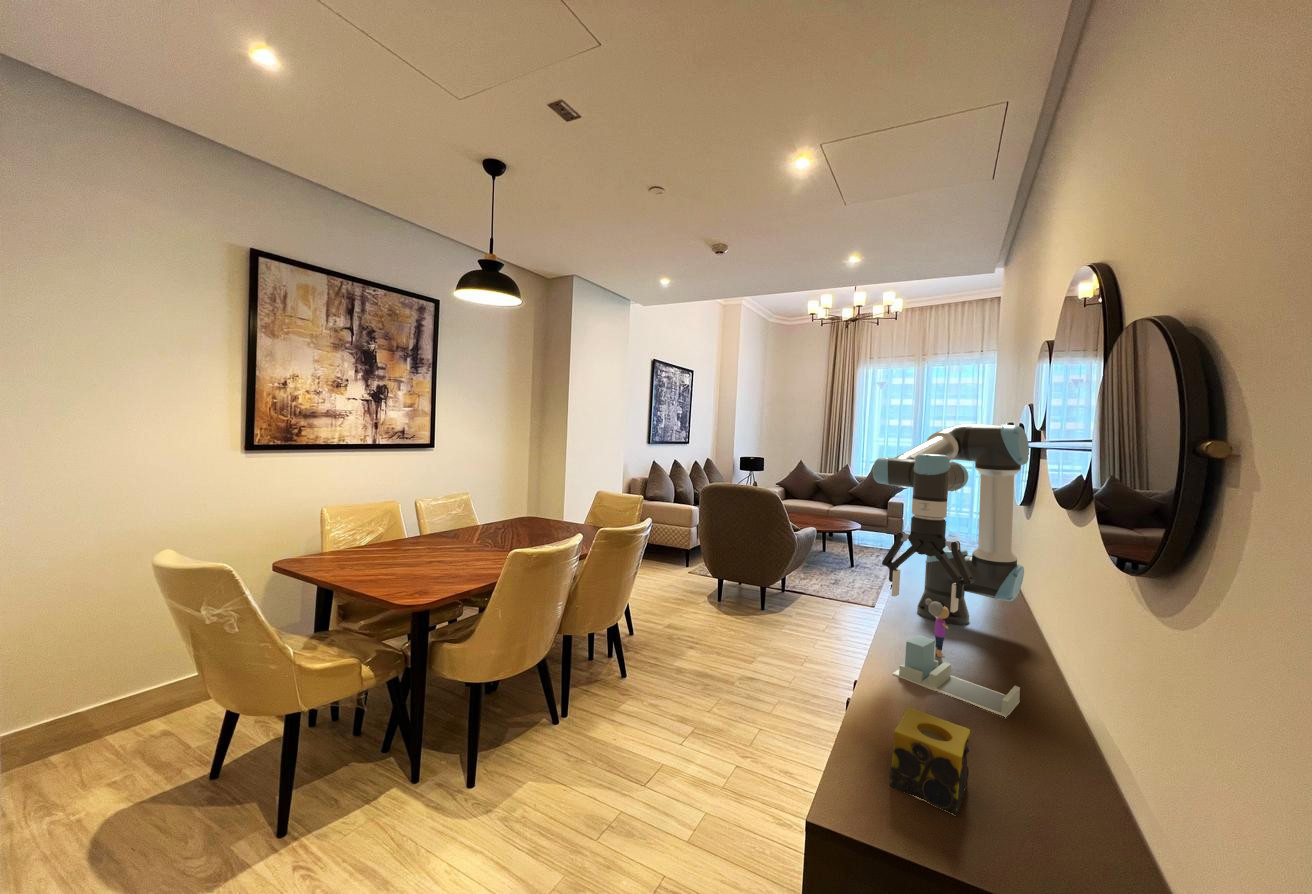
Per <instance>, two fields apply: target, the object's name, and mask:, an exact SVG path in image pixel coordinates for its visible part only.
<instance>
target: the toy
mask: <svg viewBox="0 0 1312 894" xmlns="http://www.w3.org/2000/svg"><path fill="white" fill-rule="evenodd" d="M940 602H942V601H941V600H939V602H936V601H934V602H932V600H931V599H926V600H925V603H926V604H927V605H929V606H928V609H929V612H930V613H931V614H932V615H933V616H934V617H935V618H936V621H934V622H935V623H934V632H933V635H934V637H935V638H934V640H935V648H934V655H936V657H938V656H940V657H939V658H945V655H944V654H943V646H944V641H945V638H946V630H949V626H948V624H946V623H945V621H944V620H943V619H945V618H947V617H948V616H949V610H948V608H946V607H945V606H944V603H943V602H942V605H941V604H940ZM942 654H943V655H942Z"/></svg>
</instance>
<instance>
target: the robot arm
mask: <svg viewBox="0 0 1312 894" xmlns="http://www.w3.org/2000/svg"><path fill="white" fill-rule="evenodd" d="M1029 446H1030V445H1029V440H1028V436H1027V434H1026V432H1025V429H1024V428H1023V427H1022V426H1019V425H1012V424H1002V423H1001V424H978V423H977V424H972V423H971V424H970V423H965V424H958V425H953V426H949V427H947V428H944V429H941V430H938V431H936V432H935V433H932V434H931V435H930V436H928V437H927V439H926V440H925V442H922V443H920V444H918V445H916V446H915V447H912V448H911V449H908V450H907V451H904V452H903V453H901V454H899V455H897V456H895V457H878V458H877V459H876V460H875V461H874V463H873V466H872V476H873V480H874V481H875V482H876V483H877V484H882V485H886V486H895V487H904V488H912V499H911V500H912V503H911V504H912V505H911V514H912V515H913V516H912V517H910V533H909V534H908V533H906V532H905V531H900V532H897V533H896V537H895V540H894V543H893V544H892V545H891V547H890V548H889V550H888V551H887V553H886V555H885V556H884V558H883V559H882V562H881V564H882V566H885V567H886V568H888V571H889V573H888V580H889V582H890V583H891V597H897V596H899V595H900V583H901V569H899V567H900V566H901V565H902V564H903V563H905V562H906V561H907V560H908V559H910V557H912V555H914V554H916V553H917V554H919V555H921V556H922V555H925V556H926V559H925V573H924V590H923V593H922V595H921V597H920V600H919V601H918V604H917V610H916V612H917V614H918V615H919V616H920V617H922V618H924V619H927V620H930V621H933V622H936V618H935V617H934V616H933V615H932V614H931V613H930V612H929V609H928V606H929V605H927V604H926V603H925V600H926V599H931V600H932V602H934V601H936V602H939V600H941V601H942V602H943V603H944V606H945V607H946V608H948V610H949V616H948V617H947V618H945V619H943V620H944V621H945V623H946V625H951V624H952V625H954V626H963V625H964V624H965V625H968V624H969V623H970V614H969V613H970V612H969V610H968V606H967V604H966V603H967V602H966V600H965V592H966V593H970V594H975V595H979V596H982V597H987V598H989V599H994V600H996V601H997V600H1000V601H1004V602H1005V601H1006V602H1012V601H1014V600H1015V599H1016V598H1017V596H1018V595H1019V592H1020V590H1021V588H1022V585H1023V581H1024V576H1025V568H1024V566H1023V565H1022V564H1018V557H1017V556H1016V554H1014V553H1013V552H1012V547H1013V546H1012V542H1013V540H1012V539H1013V516H1014V515H1013V514H1014V494H1015V492H1014V491H1015V475H1016V474H1018V472H1019V473H1020V471H1021V469H1022V466H1023V465H1026V464H1027V463H1028V461H1029V455H1030V447H1029ZM953 460H954V461H953ZM956 461H967V462H974V464H975V465H974V468H975V469H976V471H977V472H979V474H980V483H979V512H978V545H977V548H976V549H974V550H973V551H972V553H971V554H972V555H969V553H968V550H967V549H964V548H961V542H960V541H958V540H955V541H951V540H950V541H947V539H946V534H947V533H946V532H947V531H946V529H947V527H946V526H947V521H946V519H945V518H947V514H948V497H949V492H957V491H958V490H960V489H962V488H963V487H965V486H966V484H967V483H968V481H969V473H968V471H967V469H966V467H965V466H964V465H963V464H961V463H959V462H956ZM907 541H909V542H910V544H911V545H910V546H909V547H908V548H907V549H906V551H904V552H903V553H902V554H901V555H899V556H898V557H897V558H896V559H895V560H894V558H895V557H896V556H897V554H898V552H899V551H900V549H901V548H902V546H903V545H904V542H907ZM893 560H894V561H893ZM892 561H893V562H892ZM942 602H940V604H941V605H942ZM952 625H951V626H952Z"/></svg>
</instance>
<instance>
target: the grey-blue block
mask: <svg viewBox="0 0 1312 894" xmlns="http://www.w3.org/2000/svg"><path fill="white" fill-rule="evenodd" d="M935 643H936V639H934V638H933V639H932V638H930V637H926V636H923V635H920V634H917V635H915V636H914V637H911V638H910V639H908V640H906V643H905V659H904V661H905V662H904V665H905V666H907V667H910V668H913V669H916V670H918V671H921V672H923V679H924V678H925V677H927V676H928V675H929V673H930V672H931V671H933V664H934V660H935V649H936V647H935Z"/></svg>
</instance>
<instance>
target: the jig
mask: <svg viewBox="0 0 1312 894" xmlns="http://www.w3.org/2000/svg"><path fill="white" fill-rule="evenodd" d="M951 672H952V664H951V663H949V662H947V661H944V662H942V663H941V664H940V665H939V660H937V659H934V664H933V671H931V672H930V673H929V675H928V676H927V677H925V678H924V679H923V672H921V671H918V670H916V669H913V668H910V667H907V666H905V664H900V665H899V669H897V670H895V671H893V672H892V675H893V676H896V677H898V678H900V679H903V680H906V681H908V682H911V683H913V684H916V685H918V686H921V687H923V688H925V689H929V690H932V691H934V692H936V691H937V692H936V693H939V694H941V693H942V695H944V694H945V695H944V696H946V695H948V696H947V697H949V696H951V697H950V698H952V697H954V698H957V699H960V700H963V701H966V702H969V703H971V704H973V705H975V706H978V707H980V708H983V709H986V710H988V711H991V712H994V713H996V714H999V715H1002V716H1004V717H1005V718H1004V719H1007V718H1008V717H1009V716H1010V715H1011V713H1012V712H1013V711H1014V709H1016V707H1017V706H1018V705H1019V703H1020V700H1021V699H1020V691H1021V686H1020V687H1019V686H1018V685H1014V686H1013V687H1012V688H1011V689H1010V690H1009V692H1007V694H1004V693H1001V692H999V691H997V690H992V689H991V688H988V687H985V686H981V685H979V684H976V683H973V682H971V681H968V680H965V679H962V678H960V677H957V676H954V675H951V674H952V673H951ZM954 698H953V699H954ZM957 699H956V700H957ZM975 706H974V707H975ZM980 708H979V709H980ZM983 709H982V710H983ZM988 711H987V712H988ZM1008 715H1009V716H1008ZM1007 716H1008V717H1007ZM1006 717H1007V718H1006Z"/></svg>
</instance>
